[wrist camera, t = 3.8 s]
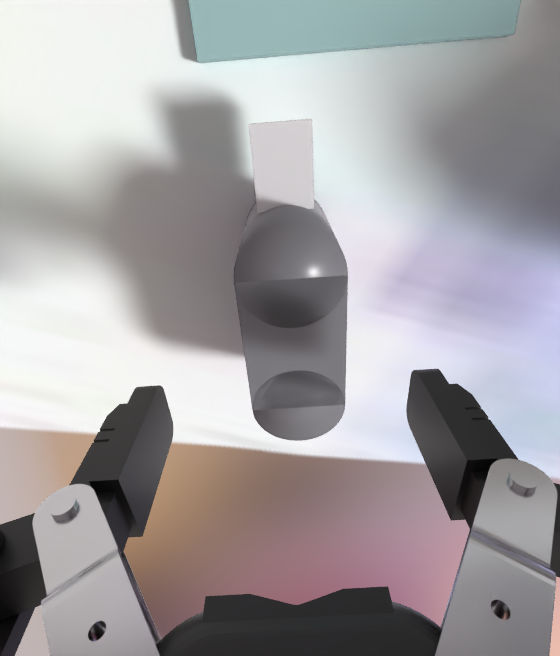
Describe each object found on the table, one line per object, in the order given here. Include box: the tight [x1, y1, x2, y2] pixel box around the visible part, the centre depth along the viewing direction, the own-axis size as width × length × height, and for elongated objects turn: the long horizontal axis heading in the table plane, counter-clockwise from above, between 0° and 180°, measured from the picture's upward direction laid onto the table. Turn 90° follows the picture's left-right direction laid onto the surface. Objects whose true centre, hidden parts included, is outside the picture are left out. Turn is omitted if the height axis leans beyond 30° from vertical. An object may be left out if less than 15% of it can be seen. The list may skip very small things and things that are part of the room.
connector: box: [234, 119, 348, 440], centre depth 16 cm, size 4×13×6 cm, turn 4°
